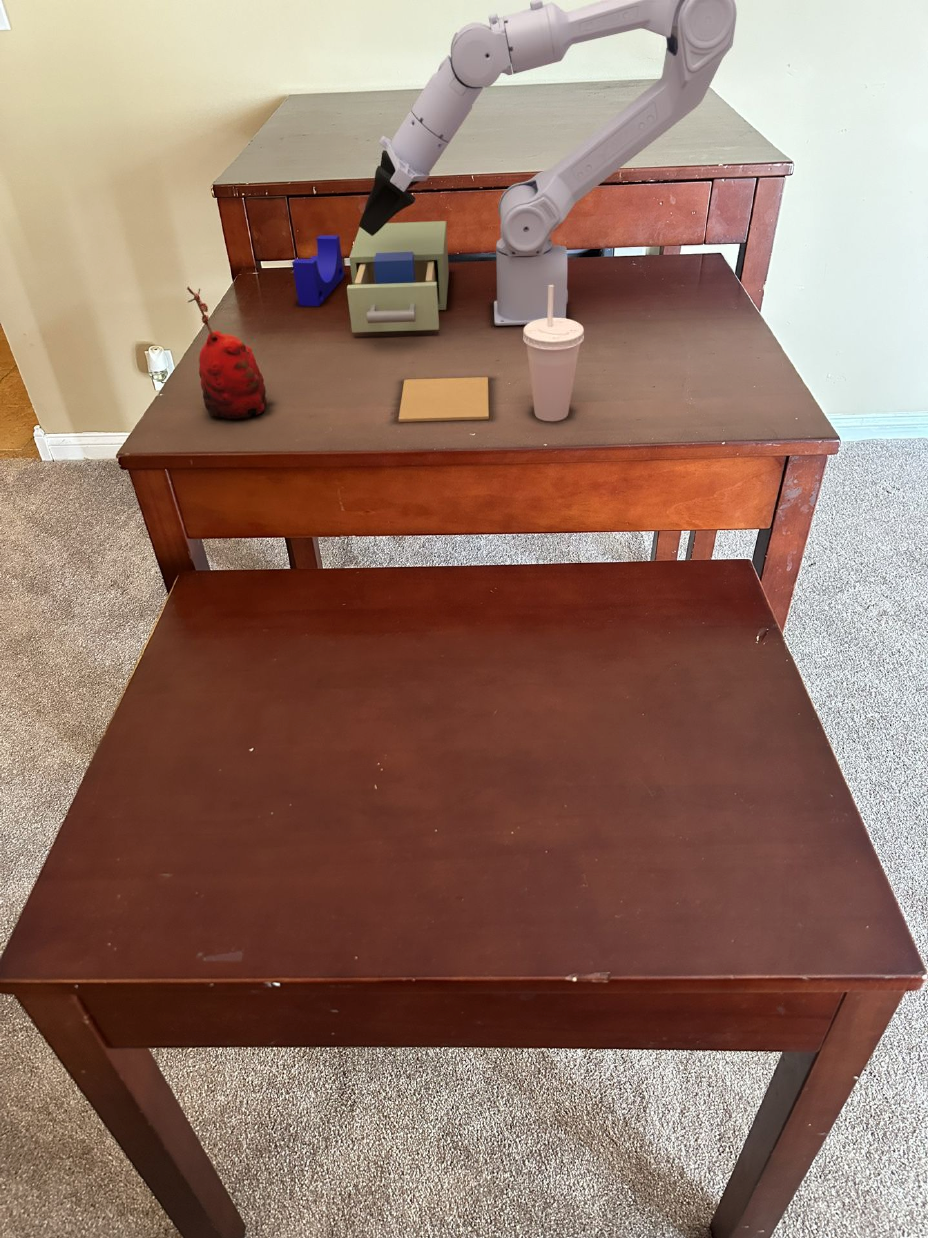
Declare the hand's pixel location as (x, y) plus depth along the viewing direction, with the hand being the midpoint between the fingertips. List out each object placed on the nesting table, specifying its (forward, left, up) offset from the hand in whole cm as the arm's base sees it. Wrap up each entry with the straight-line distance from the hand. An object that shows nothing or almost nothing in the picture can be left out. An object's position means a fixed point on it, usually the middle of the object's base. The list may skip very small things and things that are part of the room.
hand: (368, 221), depth 114 cm
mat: (-10, +25, -13) cm, 29 cm away
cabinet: (-3, -10, -13) cm, 17 cm away
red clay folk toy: (+14, +26, -13) cm, 32 cm away
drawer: (-3, +1, -12) cm, 12 cm away
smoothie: (-22, +29, -13) cm, 38 cm away
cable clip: (+10, -12, -13) cm, 21 cm away
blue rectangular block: (-3, 0, -11) cm, 11 cm away
